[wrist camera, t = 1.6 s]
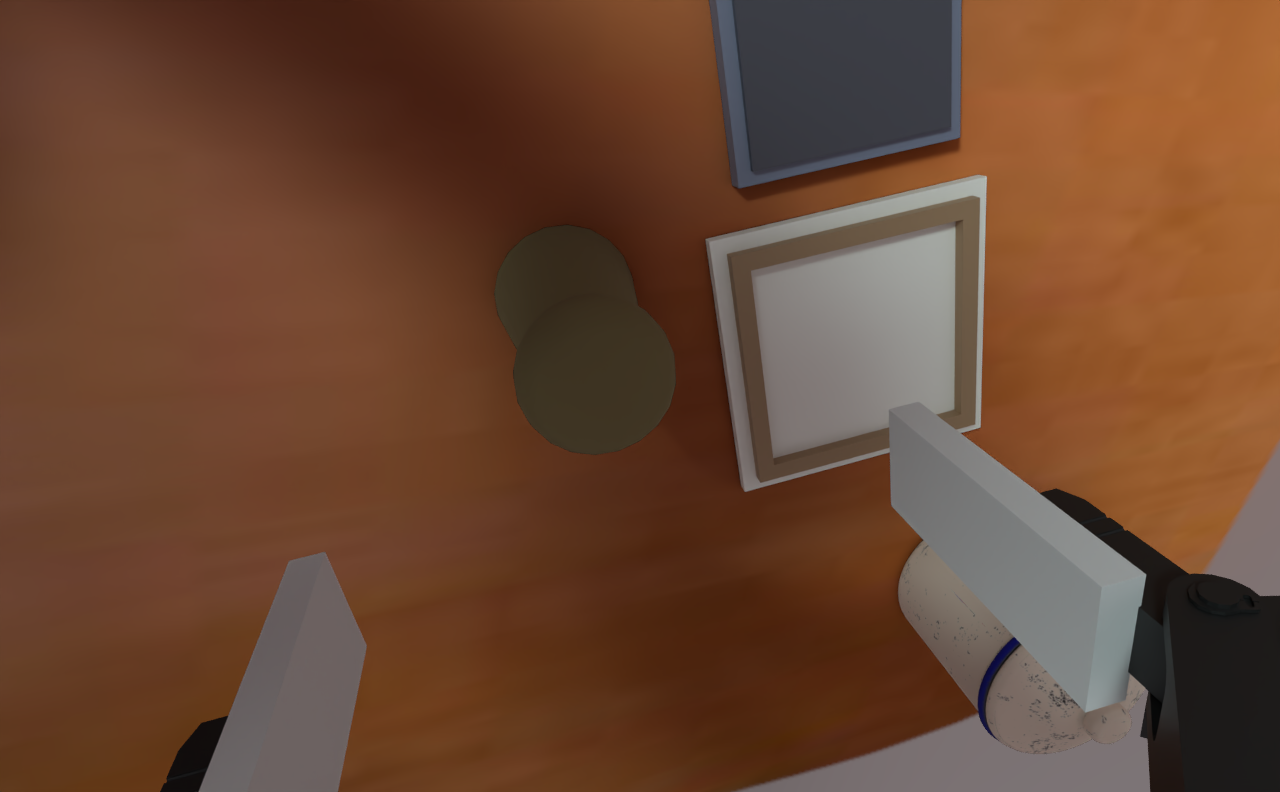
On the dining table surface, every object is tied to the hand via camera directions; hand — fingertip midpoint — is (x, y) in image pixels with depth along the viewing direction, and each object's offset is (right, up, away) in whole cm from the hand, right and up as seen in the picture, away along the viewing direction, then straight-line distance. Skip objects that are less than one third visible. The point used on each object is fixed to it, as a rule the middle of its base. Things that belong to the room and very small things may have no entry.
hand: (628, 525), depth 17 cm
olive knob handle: (-3, +7, +15) cm, 17 cm away
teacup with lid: (+21, -7, +27) cm, 34 cm away
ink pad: (+8, +18, +13) cm, 23 cm away
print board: (+11, +6, +19) cm, 22 cm away
